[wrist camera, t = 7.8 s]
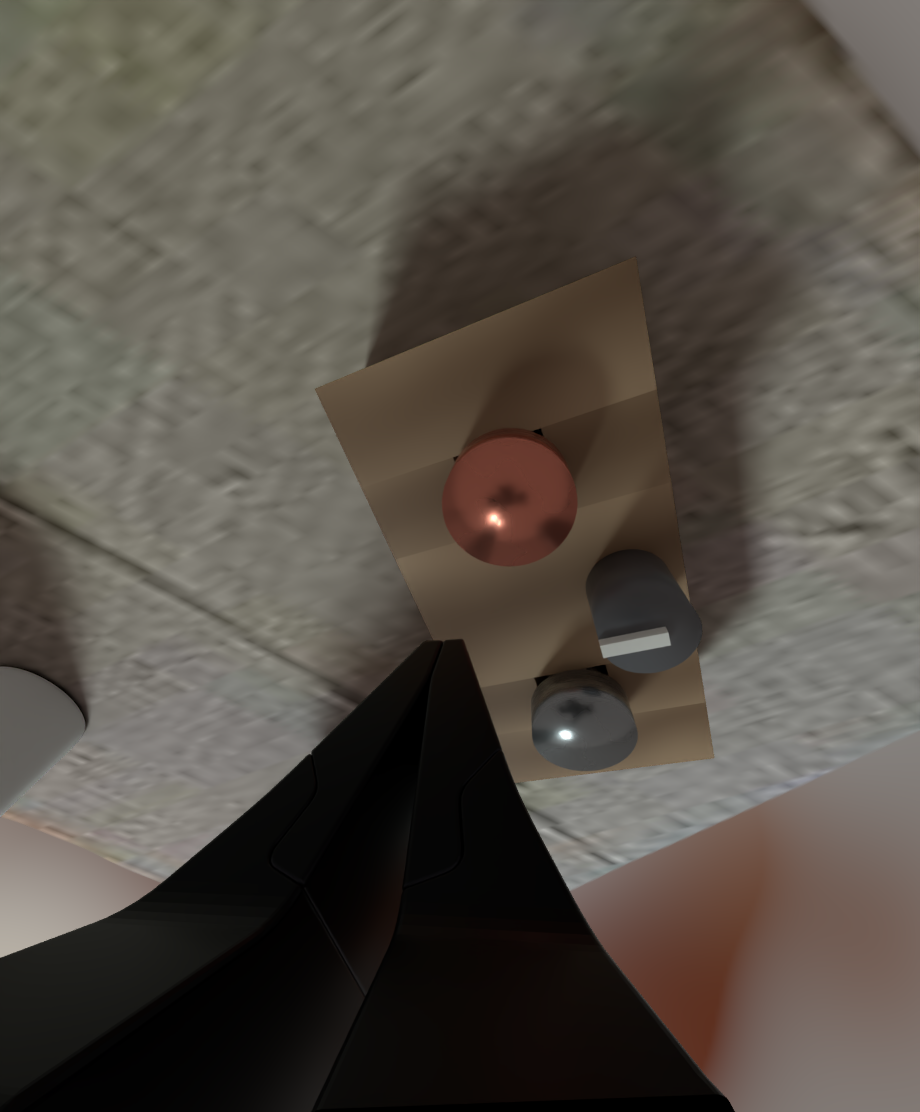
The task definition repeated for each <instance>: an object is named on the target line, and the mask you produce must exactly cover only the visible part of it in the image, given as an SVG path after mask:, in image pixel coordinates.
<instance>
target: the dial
mask: <svg viewBox="0 0 920 1112" xmlns="http://www.w3.org/2000/svg"><path fill="white" fill-rule="evenodd" d="M586 595H587V599H588V602H589V606H590V610H591V614H592V617H593V621H594V625H595V629H596V633H597V636H598V640H599V644H600V648H601V651H602V655H603V658H607V659H608V660H609V661H610V662H611V663H613V664H614V665H615V666H617V667H619V668H621V669H624V670H626V671H630V672H635V673H656V672H661V671H665V670H668V669H671V668H673V667H675V666H677V665H679V664H681V663H682V662H683V661H685V660H686V659H687V658H689V657H690V656H691V655H692V653H693V652H694V651H695V650H696V648H697V647H698V645H699V643H700V640H701V636H702V624H701V620H700V618H699V616H698V614H697V613H696V611H695V610H694V608H693V606H692V605H691V603H690V602H689V600H688V599H687V597H686V595H685V594H684V592H683V591H682V589H681V588H680V586H679V584H678V583H677V581H676V580H675V578H674V576H673V575H672V573H671V572H670V570H669V569H668V567H667V566H666V564H665V563H664V562H663V561H662V559H660V558H659V557H658V556H656V555H654V554H653V553H650V552H648V551H644V550H638V549H627V550H621V551H617V552H614V553H612V554H609V555H607V556H606V557H604V558H603V559H601V560H600V561H599V562H598V563H597V564H595V566H594V567H593V568H592V570H591V571H590V573H589V575H588V577H587V581H586Z"/></svg>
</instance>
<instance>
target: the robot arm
mask: <svg viewBox="0 0 920 1112" xmlns="http://www.w3.org/2000/svg"><path fill="white" fill-rule="evenodd" d="M0 1112H735V1111H734V1109H733V1107H732V1106H731V1104H730V1102H729V1100H728V1099H727V1098H726V1097H725V1096H724V1095H723V1094H722V1093H721V1092H720V1091H719V1090H718V1089H717V1087H716V1086H715V1085H714V1084H713V1083H712V1082H711V1081H710V1080H709V1079H708V1078H707V1077H706V1075H705V1074H704V1073H703V1072H702V1070H701V1069H700V1068H699V1067H698V1065H697V1064H696V1063H695V1062H694V1060H693V1059H692V1058H691V1057H690V1055H689V1054H688V1053H687V1052H686V1050H685V1049H684V1048H683V1047H682V1045H681V1044H680V1043H679V1042H678V1040H677V1039H676V1038H675V1037H674V1036H673V1034H672V1033H671V1032H670V1030H669V1029H668V1028H667V1027H666V1025H665V1024H664V1023H663V1022H662V1021H661V1019H660V1018H659V1017H658V1015H657V1014H656V1013H655V1012H654V1010H653V1009H652V1008H651V1007H650V1006H649V1004H648V1003H647V1002H646V1000H645V999H644V998H643V997H642V995H641V994H640V993H639V992H638V991H637V989H636V988H635V987H634V985H633V984H632V983H631V982H630V980H629V979H628V978H627V977H626V975H625V974H624V973H623V972H622V970H620V968H619V967H618V966H617V964H616V963H615V962H614V960H613V959H612V958H611V957H610V955H609V954H608V953H607V952H606V950H605V949H604V948H603V946H602V945H601V943H600V942H599V940H598V939H597V937H596V936H595V934H594V933H593V931H592V929H591V928H590V926H589V924H588V923H587V921H586V919H585V918H584V916H583V914H582V913H581V911H580V909H579V907H578V905H577V904H576V902H575V900H574V898H573V897H572V895H571V893H570V891H569V889H568V887H567V885H566V883H565V882H564V880H563V878H562V876H561V874H560V872H559V870H558V868H557V867H556V865H555V863H554V861H553V859H552V857H551V855H550V853H549V852H548V850H547V848H546V846H545V844H544V842H543V840H542V838H541V837H540V835H539V833H538V831H537V829H536V827H535V825H534V823H533V821H532V819H531V817H530V815H529V813H528V811H527V809H526V807H525V805H524V803H523V801H522V799H521V797H520V795H519V792H518V790H517V787H516V785H515V782H514V780H513V777H512V775H511V772H510V770H509V767H508V764H507V761H506V758H505V755H504V753H503V752H502V747H501V745H500V742H499V739H498V736H497V733H496V730H495V727H494V725H493V722H492V719H491V716H490V713H489V710H488V707H487V705H486V702H485V699H484V696H483V693H482V690H481V687H480V685H479V682H478V679H477V676H476V673H475V670H474V667H473V665H472V662H471V659H470V656H469V653H468V650H467V647H466V645H465V642H464V640H463V639H448V640H445V641H444V642H443V641H442V640H432V641H424V642H423V643H422V644H421V645H420V646H419V647H418V648H417V649H416V650H415V651H414V652H413V653H412V654H411V655H410V656H408V657H407V658H406V659H405V660H404V661H403V662H402V663H401V664H400V665H399V666H398V667H397V668H396V669H395V670H394V671H393V672H392V673H391V674H390V675H389V676H388V677H387V678H386V679H385V680H384V681H383V682H382V683H381V684H380V685H379V686H378V687H377V688H376V689H375V690H374V691H373V692H372V693H371V694H370V695H369V696H368V697H367V698H366V699H365V700H364V701H363V702H361V703H360V704H359V705H358V706H357V707H356V708H355V709H354V710H353V711H352V712H351V713H350V714H349V715H348V716H347V717H346V718H345V719H344V720H343V721H342V722H341V723H340V724H339V725H338V726H337V727H336V728H335V729H334V730H333V731H332V732H331V733H330V734H329V735H328V736H327V737H326V738H325V739H324V740H323V741H322V742H321V743H320V744H319V745H318V746H317V747H316V748H314V749H313V750H312V755H311V754H308V755H307V756H306V757H305V758H304V759H303V760H302V761H301V762H300V763H299V764H298V765H297V766H296V767H295V768H294V769H293V770H292V771H291V772H290V773H289V774H287V775H286V776H285V777H284V778H283V779H282V780H281V781H280V782H279V783H278V784H277V785H276V786H275V787H274V788H273V789H272V790H270V791H269V792H268V793H267V794H266V795H265V796H264V797H263V798H261V799H260V800H259V801H258V802H257V803H256V804H255V805H253V806H252V807H251V808H250V809H249V810H248V811H246V812H245V813H244V814H243V815H242V816H241V817H240V818H238V819H237V820H236V821H235V822H234V823H232V824H231V825H230V826H229V827H228V828H227V829H225V830H224V831H223V832H222V833H221V834H219V835H218V836H217V837H216V838H215V839H213V840H212V841H211V842H210V843H209V844H208V845H206V846H205V847H204V848H203V849H202V850H200V851H199V852H198V853H197V854H196V855H194V856H193V857H192V858H191V859H190V860H189V861H187V862H186V863H185V864H184V865H183V866H181V867H180V868H179V869H178V870H177V871H175V872H174V873H173V874H172V875H171V876H170V877H168V878H167V879H166V880H165V881H163V882H162V883H161V884H160V885H158V886H157V887H156V888H155V889H153V890H152V891H151V892H149V893H148V894H146V895H145V896H143V897H142V898H141V899H139V900H138V901H136V902H135V903H133V904H131V905H129V906H128V907H126V908H124V909H123V910H121V911H119V912H117V913H115V914H113V915H111V916H109V917H107V918H104V919H102V920H99V921H97V922H95V923H92V924H89V925H87V926H84V927H81V928H79V929H76V930H73V931H71V932H68V933H66V934H63V935H60V936H58V937H55V938H52V939H49V940H47V941H44V942H41V943H39V944H36V945H34V946H31V947H28V948H25V949H23V950H20V951H17V952H15V953H12V954H10V955H7V956H4V957H1V958H0Z"/></svg>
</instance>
